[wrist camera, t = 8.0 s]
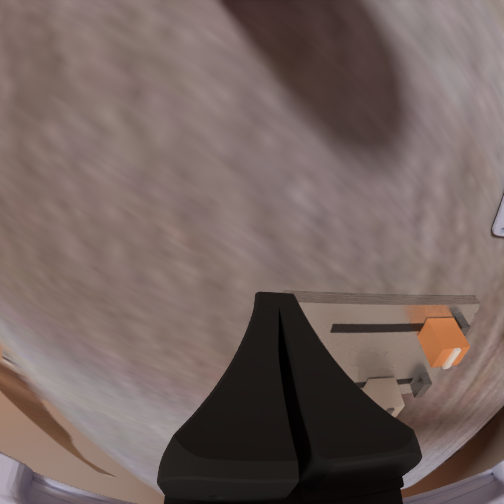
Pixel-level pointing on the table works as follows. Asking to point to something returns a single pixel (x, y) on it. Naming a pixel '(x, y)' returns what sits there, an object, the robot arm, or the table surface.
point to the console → (382, 332)
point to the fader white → (385, 394)
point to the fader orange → (442, 342)
